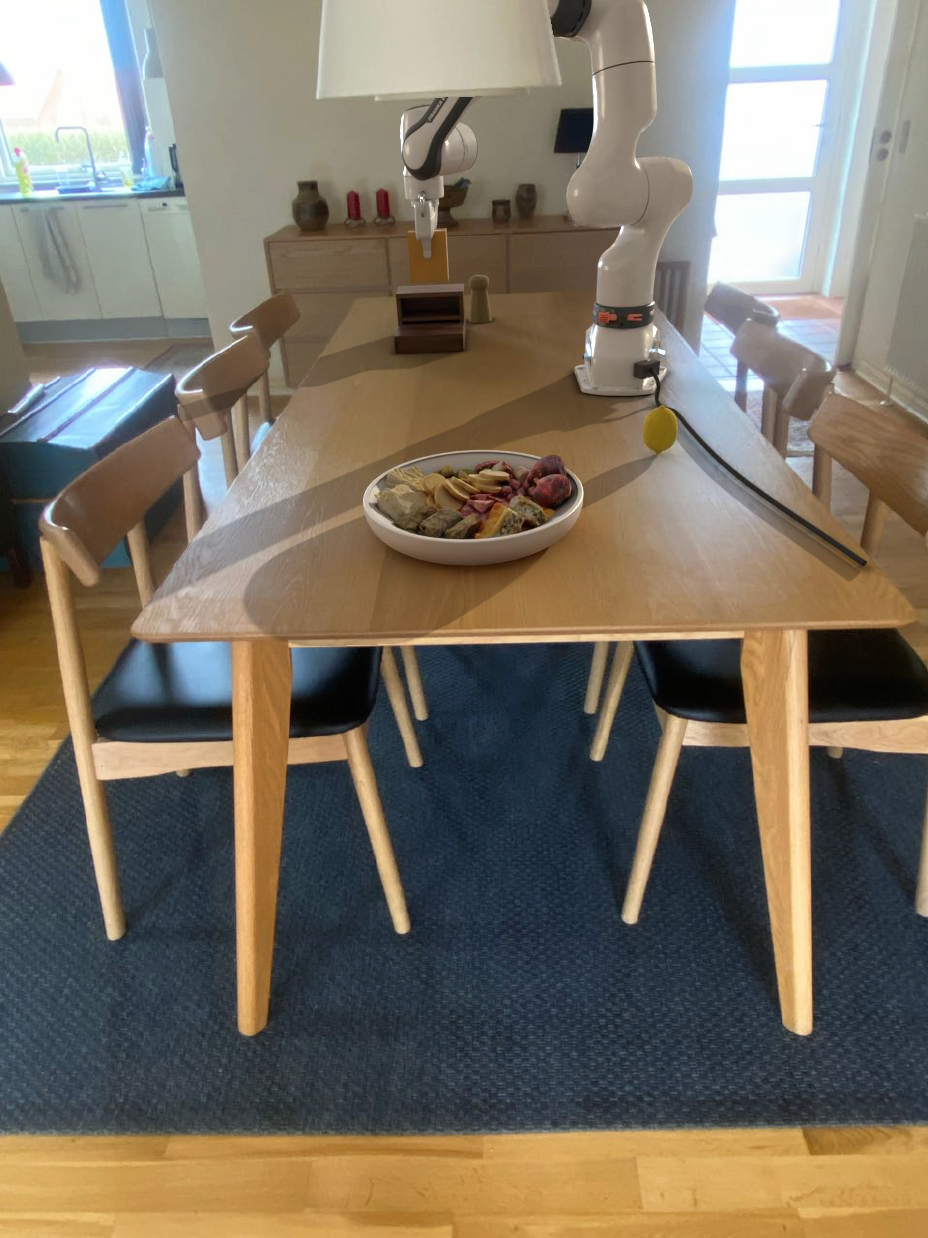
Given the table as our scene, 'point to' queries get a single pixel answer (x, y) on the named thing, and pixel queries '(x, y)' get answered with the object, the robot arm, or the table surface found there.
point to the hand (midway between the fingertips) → (428, 255)
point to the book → (428, 267)
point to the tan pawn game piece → (479, 299)
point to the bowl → (474, 506)
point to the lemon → (660, 429)
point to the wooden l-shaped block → (430, 318)
